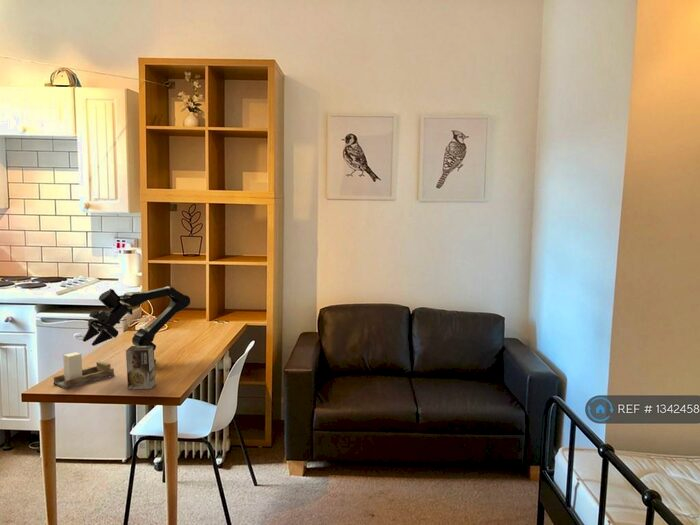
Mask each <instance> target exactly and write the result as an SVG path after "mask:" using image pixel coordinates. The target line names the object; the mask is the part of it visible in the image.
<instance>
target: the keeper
mask: <svg viewBox="0 0 700 525" xmlns="http://www.w3.org/2000/svg"><path fill="white" fill-rule="evenodd" d="M62 358H63V374H64V377H65V381H67V380H71V379H75V378H78V377H82V369H83V363H82V361H83V360H82V353H79V352H77V351H75V352H71V353H66V354H63V356H62Z"/></svg>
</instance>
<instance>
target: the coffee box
mask: <svg viewBox="0 0 700 525" xmlns="http://www.w3.org/2000/svg"><path fill="white" fill-rule="evenodd" d="M154 359H155V350H154V346H135V345H131V346H130V347H128V348H127V349H126V350H125V362H126V375H127V376H126V378H127V379H126V380H127V390H151V389H152V388H153V387H154V386H155V385H156V373H155V372H156V370H155V369H156V368H155V361H154Z"/></svg>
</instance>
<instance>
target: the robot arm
mask: <svg viewBox="0 0 700 525" xmlns="http://www.w3.org/2000/svg"><path fill="white" fill-rule="evenodd" d="M165 297H168V298H169V299H170V302H169V303H168V304H169V305H168V306H167V307H166V309H164V311H163V312H161V314H160V315H158V317H156V319H155V320H154V321H152V323H151V324H150V325H148V326H147V327H146V328H142V327H140V328H139V329H138V330H137V331H136V332H135V333H133V336H132V339H131V342H132V345H133V346H154V351H156V348H157V345H156V344H155V343H154V342H153V341H154V339H155V336H156V334H157V333H158V332H159V331H161V329H162V328H163V327H164V326H165V325H166V324H167V323H168V322H169V321H170V320H171V319H173V317H174V316H175V315H176V314H177V313H178V312H181V311H184V309H186V308H187V307H189V305H190V304H191V297H189V296H188V295H187V294H183V293H182V292H180V291H179V290H177V289H175V288H174V287H173V286H168V285H167V286H165V287H160V288H156V289H150V290H146V291H129V292H128V291H127V292H125V293H124V294H121V295H119V294H117V293H116V291H115V289H112V288H110V289H108V290H107V291H104V292H103V293H101V294H100V295H99V297H98V300H99V302H101V303H102V304H103V305H104V306H105V307H106V308H107V309H111V310H110V311H109V312H107V311H104V310H100V311H97V310H94V309H92V310H91V311H90V313H89V316H88V317H90V319H88V321H87V327H88V328H87V331H86V333H85V335H84V337H83V339H82V341H83V343H84V342H88V341H89V340H91V339H93V338H94V337H96V338H95V339H94V340H93V341H92V343H91V346H93V347H94V346H97V345H99V344H101V343H104V342H106V341H108V340H112V339H113V338H114V339H115V338H117V337H118V336H119V331H118V330H117V329H116V328H115V326H116V325H117V324H118V325H119V324H121V320H122V319H123V318H124V317H125V316H126V315H127V314H128V315H133V308H131V307H137V306H139V305H142V304H144V303H145V302H146V301H151V300H154V299H155V300H156V299H160V298H165ZM128 306H130V307H128ZM156 361H157V359H155V358H154V362H156Z"/></svg>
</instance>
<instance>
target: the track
mask: <svg viewBox="0 0 700 525" xmlns="http://www.w3.org/2000/svg"><path fill="white" fill-rule="evenodd" d="M114 370H115V369H114V368H113V367H112V368H111V363H108V362H105V361H102V360H99V361H96V365H95V366H92V367H87V368H84V369H83V368H82V377H78V378H75V379H71V380H67V381H65V377H64V373H63V374H60V375H56V376H53V384H54V383H55V384H57V385H59V386H58V387H60V386H61V387H60V388H62V387H64V388H63V389H65V388H66V389H65V390H69V389H72V387H73V388H76V387H80V386H82V384H83V385H86V383H87V384H90V383H93V381H94V382H97V381H100V380H99V379H101V380H104V379H107V378H106V377H108V378H110V377H109V376H111V377H114V376H115V371H114ZM113 375H114V376H113ZM103 378H104V379H103ZM96 380H97V381H96ZM89 382H90V383H89ZM55 384H54V385H55ZM57 385H56V386H57ZM79 385H80V386H79ZM75 386H76V387H75ZM68 388H69V389H68Z"/></svg>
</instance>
